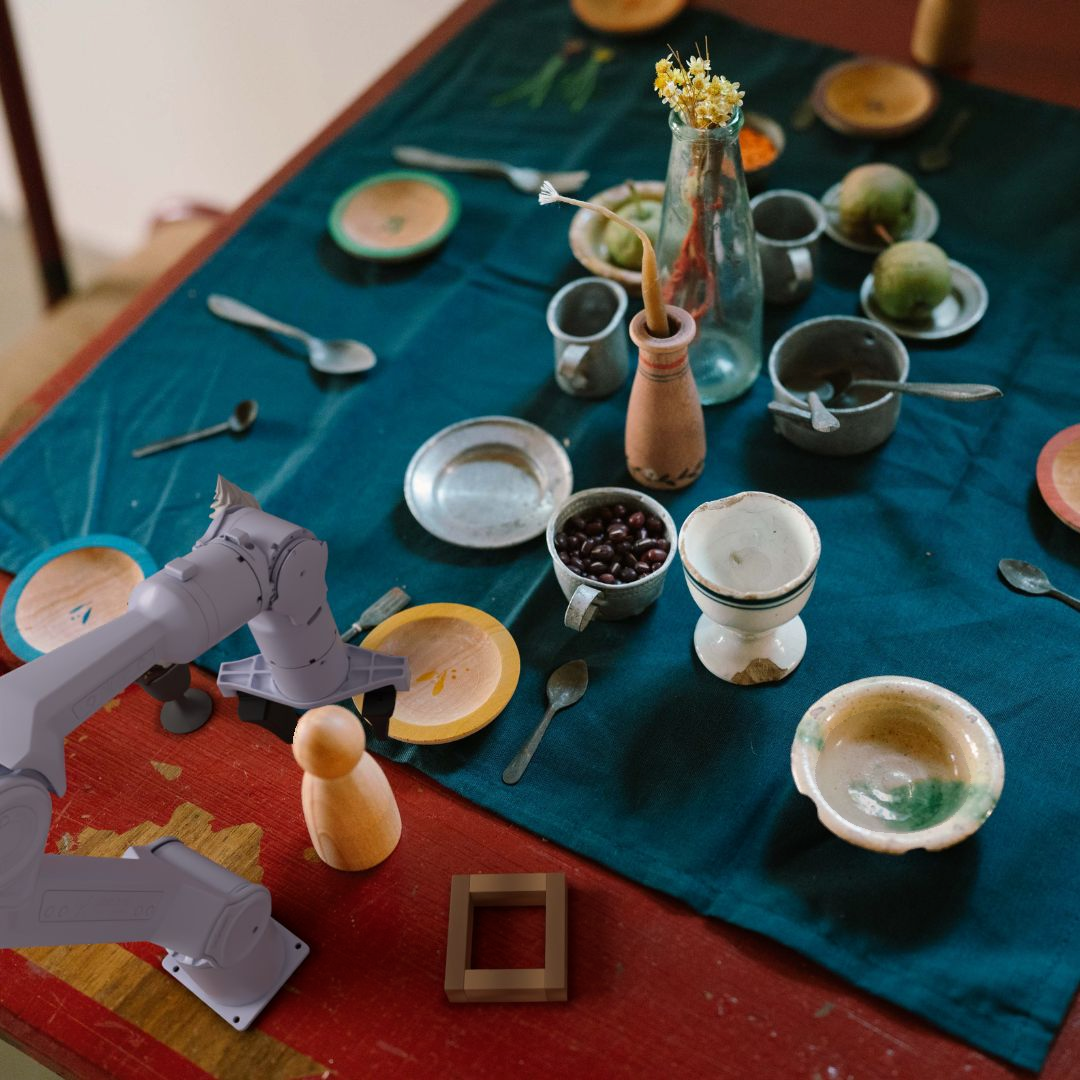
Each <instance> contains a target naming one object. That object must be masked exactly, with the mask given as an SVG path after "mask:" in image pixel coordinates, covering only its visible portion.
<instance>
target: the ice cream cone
mask: <svg viewBox="0 0 1080 1080" xmlns="http://www.w3.org/2000/svg"><path fill="white" fill-rule="evenodd" d="M214 492H215V493H216V494H215V495H214V497H213V500H215V501H214V502H212V503H211V504H210V507H209V508H210V509H214V512H212V513H210V514H209V516H208V517H209V518H210V519H213V520H214V519H215V517H216V516H217V515H218V514H219V513H220V512H221V511H222V510H223V509H226V508H230V507H232V506H235V505H245V506H248V507H253V508H256V509H258V510H261V511H263V509H262V507H261V506H260V503H259V501H258V500H257V499H256V498H255V497H254V495H253V494H252V493H251V492H249V491H246V490H242V489H241V488H240V487H239V486H237V484H235V483H232V482H230V481H229V480H227V479H226V478H225V477H224V476H223V475H221V474H220V473H218V474H217V482H216V489H215V490H214Z"/></svg>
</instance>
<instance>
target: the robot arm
mask: <svg viewBox="0 0 1080 1080" xmlns="http://www.w3.org/2000/svg"><path fill="white" fill-rule="evenodd" d="M195 541H196V542H195V544H194V545H193V546H192V547H191V550H192V551H191V552H189V553H187V554H185V555H184V556H182V557H180V556H177V557H176V558H173V559H172V560H171V561H169V562H167V563H166V564H164V568H162V569H161V570H159V571H157V572H155V573H153V574H152V575H150V576H149V577H147V578H145V579H143V580H142V581H140V582H139V583H138V584H137V583H136V585H135V586H134V587H133V588H132V590H131V592H130V594H129V597H128V601H127V603H128V605H127V607H126V608H127V609H126V612H125V613H123V614H121V615H119V616H118V617H115V618H113V619H111V620H110V621H107V622H106V623H104V624H101V625H100V626H97V627H96V628H94V629H92V630H89V631H88V632H86V633H84V634H82V635H80V636H78V637H76V638H74V639H72V640H70V641H68V642H66V643H64V644H62V645H61V646H58V647H56V648H55V649H52V650H51V651H49V652H46V653H44V654H42V655H41V656H38V657H37V658H35V659H33V660H31V661H29V662H27V663H25V664H23V665H21V666H20V667H17V668H15V669H13V670H12V671H10V672H7V673H5V674H3V675H2V676H0V949H1V950H5V949H19V948H23V949H24V948H39V947H40V948H41V947H59V946H78V945H98V944H99V945H100V944H118V943H134V942H135V943H136V942H149V943H151V944H154V945H156V946H159V947H161V948H164V949H165V950H166V952H167V953H168V954H167V955H166V956H165V957H164V958H163V960H162V961H161V965H162V967H163V969H164V970H166V971H167V972H168V973H169V974H170V975H171V976H173V977H174V978H175V979H176V980H177V981H179V983H181V984H182V985H183V986H184V987H186V988H187V989H188V990H189V991H191V992H192V993H193V994H194V995H195V996H196V997H198V998H199V999H200V1000H201V1001H202V1002H204V1004H206V1005H207V1006H208V1007H209V1008H210V1009H212V1010H213V1011H214V1012H215V1013H216V1014H218V1015H219V1016H220V1017H221V1018H222V1019H224V1020H225V1021H226V1022H227V1023H228V1024H230V1025H231V1026H232V1027H233V1028H234V1029H235V1030H237V1031H238V1032H244V1031H246V1030H247V1029H248V1028H249V1027H250V1025H251V1024H252V1023H253V1022H254V1021H255V1019H256V1018H257V1017H258V1016H259V1015H260V1013H261V1012H262V1011H263V1010H264V1008H265V1007H266V1006H267V1005H268V1004H269V1003H270V1001H271V1000H272V999H273V998H274V996H275V995H276V994H277V993H278V992H279V990H280V989H281V988H282V987H283V985H284V984H285V983H286V982H287V981H288V980H289V979H290V977H291V976H292V975H293V973H294V972H295V971H296V970H297V969H298V968H299V966H300V965H301V964H302V963H303V961H304V960H305V959H306V958H307V957H308V955H309V954H310V950H311V949H310V947H309V945H308V944H307V943H305V942H304V941H303V940H301V939H300V938H299V937H298V936H296V935H295V934H294V933H292V932H291V931H290V930H289V929H287V928H286V927H285V926H284V925H282V923H280V922H278V921H277V920H275V919H274V918H273V917H272V916H271V915H272V895H271V892H270V890H269V889H268V888H267V887H266V886H263V885H262V884H260V883H254V882H252V881H250V880H248V879H246V878H245V877H243V876H241V875H239V874H237V873H236V872H234V871H232V870H231V869H229V868H227V867H225V866H223V865H222V864H220V863H218V862H217V861H215V860H213V859H211V858H210V857H207V856H205V855H204V854H203V853H200V852H199V851H197V850H195V849H193V848H191V847H190V846H187V845H186V844H185V842H184V841H182V840H181V839H180V838H178V837H176V836H175V835H163V836H161V837H159V838H157V839H154V840H153V841H151V842H150V843H147V844H144V845H130V846H129V847H128V848H127V849H126V850H125V852H124V853H123V854H122V856H121V857H114V856H113V857H111V856H93V855H77V854H76V855H75V854H61V853H59V854H57V853H45V851H46V846H47V841H48V837H49V833H50V829H51V822H52V815H53V802H52V797H51V794H53V795H54V796H56V797H58V798H60V799H62V798H63V797H64V796H65V794H66V792H67V775H66V758H65V739H66V737H68V735H70V734H71V733H72V732H73V731H75V730H76V729H77V728H78V727H80V725H82V724H83V723H84V722H86V721H87V720H88V719H89V718H91V717H92V716H93V715H94V714H95V713H97V712H98V711H99V710H101V709H102V708H103V707H104V706H105V705H107V704H108V703H109V702H110V701H111V700H113V699H114V698H115V697H116V696H118V695H119V694H121V692H123V691H125V689H127V688H128V687H129V686H130V685H131V684H133V683H132V682H134V681H135V680H136V679H137V678H139V677H140V676H141V675H142V674H144V673H145V672H146V671H147V670H149V669H150V668H151V667H152V666H153V665H155V664H156V663H157V662H158V661H160V660H165V661H168V662H171V663H176V664H185V663H188V664H189V663H190V662H191V663H192V661H194V660H196V659H197V658H198V657H200V656H201V655H204V653H205V652H207V651H209V650H210V649H212V648H213V647H214V646H216V645H217V644H219V643H220V642H221V641H223V640H224V639H226V638H227V637H229V636H230V635H232V634H234V632H236V631H237V630H240V628H242V627H243V626H245V625H246V624H247V625H248V628H249V630H250V633H251V634H252V636H253V639H254V640H255V643H256V645H257V647H258V650H259V651H260V653H258V654H255V655H252V656H249V657H246V658H241V659H240V660H239V659H238V660H234V661H233V660H232V661H225V662H221V663H220V667H219V671H218V676H217V680H216V686H217V687H218V689H219V691H220V693H221V695H222V697H223V698H235V697H237V701H238V705H237V708H236V714H237V716H238V718H239V719H240V721H241V722H242V723H248V724H253V725H256V726H258V727H260V728H263V729H264V730H267V731H268V732H269V733H271V734H273V735H274V736H276V737H277V738H278V739H279V740H281V741H282V742H283V743H284V744H286V745H294V744H293V736H294V732H295V728H296V726H297V724H298V725H299V721H298V718H297V714H296V711H295V709H299V710H315V709H319V708H323V707H326V706H329V705H333V704H335V703H338V702H341V701H344V700H347V699H350V698H354V697H356V696H359V695H362V694H363V697H362V706H361V713H360V715H361V718H363V719H365V720H367V722H368V723H369V724H370V725H371V727H372V730H373V732H374V736H375V739H376V740H377V741H378V742H381V743H382V742H387V741H388V740H389V732H390V723H391V721H390V719H392V717H393V715H394V712H395V709H396V703H397V696H398V695H397V693H398V692H403V693H404V692H410V687H411V679H412V668H411V664H410V661H409V657H408V656H407V655H394V654H386V653H382V652H379V651H375V650H372V649H368V648H365V647H361V646H358V645H354V644H351V643H347V642H343V640H342V638H341V635H340V632H339V629H338V627H337V624H336V621H335V618H334V616H333V613H332V611H331V608H330V606H329V602H328V600H327V597H328V596H327V592H328V590H329V589H328V586H327V583H326V579H325V578H326V577H325V576H326V570H327V565H328V559H329V555H328V554H329V550H328V544H327V541H326V540H324V541H322V540H319V539H318V538H317V536H316V534H315V533H314V532H313V531H311V530H309V529H307V528H305V527H302V526H300V525H298V524H295V523H293V522H291V521H288V520H286V519H283V518H281V517H278V516H276V515H273V514H271V513H268V512H265V511H263V510H262V511H261V510H258V509H256V508H253V507H248V506H245V505H235V506H232V507H230V508H226V509H223V510H222V511H221V512H220V513H219V514H218V515H217V516H216V517H215V519H213V520H212V521H211V523H210V524H209V526H208V528H207V530H206V532H205V533H204V534H203V536H202V537H201V538H199V539H197V540H195ZM294 708H295V709H294ZM297 727H298V726H297ZM50 793H51V794H50ZM298 946H300V948H297V947H298ZM178 968H179V969H178ZM177 969H178V970H177ZM176 970H177V971H176ZM237 1019H239V1021H238V1022H236V1020H237Z"/></svg>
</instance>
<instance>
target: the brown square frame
mask: <svg viewBox="0 0 1080 1080" xmlns="http://www.w3.org/2000/svg"><path fill="white" fill-rule="evenodd" d="M567 882H568V881H567V876H566V872H534V873H533V872H530V873H529V872H527V873H525V872H524V873H522V872H521V873H480V874H479V873H475V874H452V875H451V885H450V886H451V887H450V901H449V914H448V929H447V944H446V960H445V973H444V974H445V975H444V988H443V989H444V991H445V994H446V996H447V999H448V1002H449V1003H529V1002H531V1003H532V1002H533V1003H534V1002H535V1003H536V1002H537V1003H538V1002H568V883H567ZM526 906H528V907H532V906H534V907H535V906H538V907H539V906H545V955H544V958H545V959H544V960H545V962H544V963H545V965H544V967H545V968H501V969H500V968H499V969H497V968H494V969H492V968H490V969H471V968H472V967H471V966H472V948H473V947H472V946H473V933H474V932H473V930H474V929H473V928H474V910H475V908H477V907H526Z"/></svg>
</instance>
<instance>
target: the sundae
mask: <svg viewBox="0 0 1080 1080" xmlns="http://www.w3.org/2000/svg"><path fill="white" fill-rule="evenodd" d="M126 605H127V606H128V602H126ZM131 684H135V685H138V686H139V687H141V689H142V690H143V691H144V692H145V693H146V694H147V695H149V696H150V697H151V698H153V699H154V700H155V701H158V702H161V703H164V704H163V706H162V707H161V710H160V716H159V719H160V723H161V725H162V727H163V728H164V729H165V730H167V731H168V732H170V733H173V734H178V735H179V734H180V735H181V734H188V733H191V732H193V731H195V730H197V729H199V728H200V727H202V726H203V725H204V724H205V723H206V722H207V721H208V719H209V718H210V716H211V713H212V710H213V701H212V698H211V696H210V695H209V694H208V693H207V692H206V691H204V690H202V689H198V688H190V687H191V685H192V676H191V669H190V665H189V663H185V664H176V663H171V662H168V661H165V660H160V661H158V662H157V663H156V664H155V665H153V666H152V667H151V668H150V669H149V670H147V671H146V672H145V673H144V674H142V675H141V676H140V677H139V678H137V679H136V680H135V681H134V682H132V683H131Z"/></svg>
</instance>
